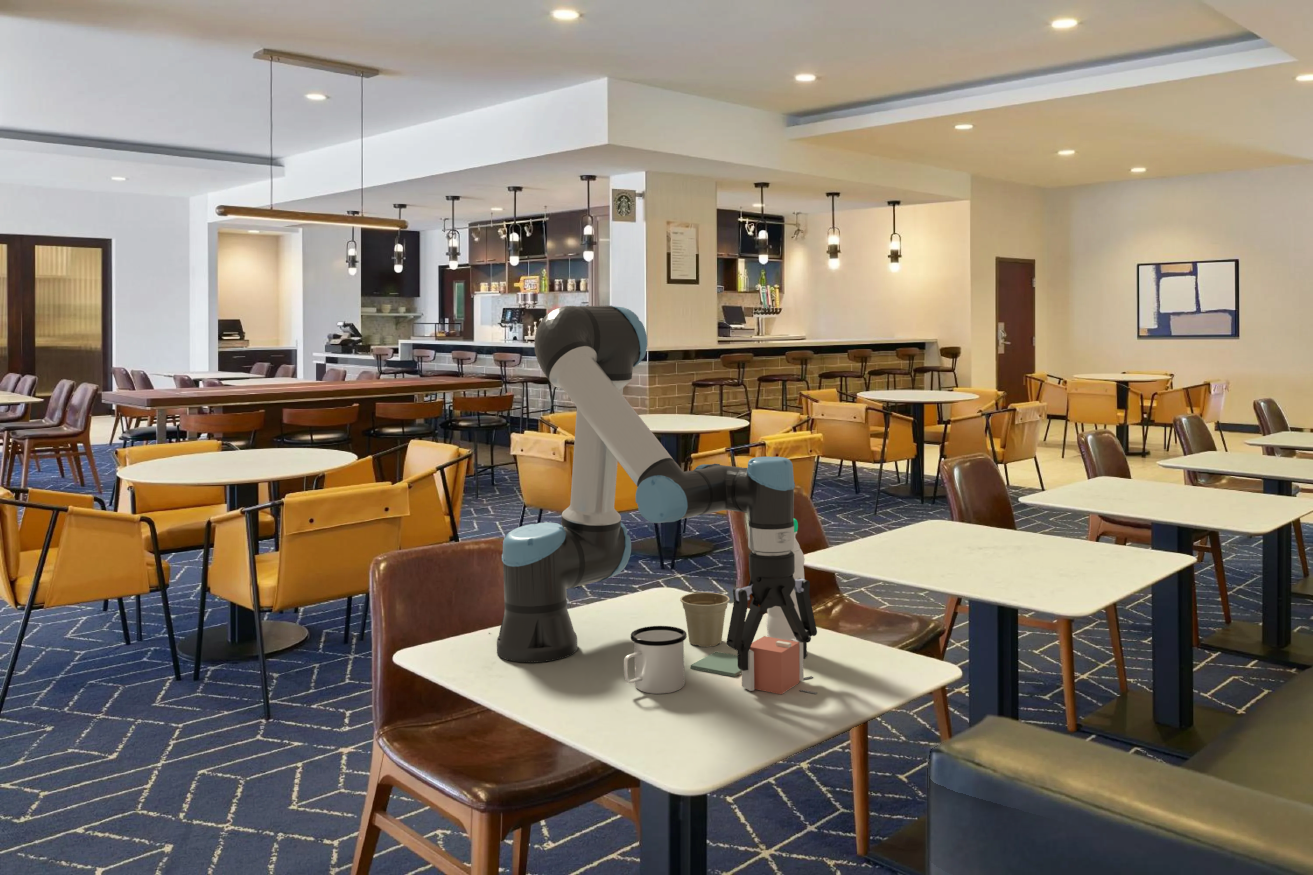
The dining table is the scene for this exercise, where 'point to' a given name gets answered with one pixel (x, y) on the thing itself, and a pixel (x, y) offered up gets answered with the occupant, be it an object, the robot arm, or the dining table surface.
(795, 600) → the water bottle
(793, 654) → the orange box with tab
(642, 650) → the mug
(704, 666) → the pad
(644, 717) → the dining table surface
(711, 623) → the flower pot
